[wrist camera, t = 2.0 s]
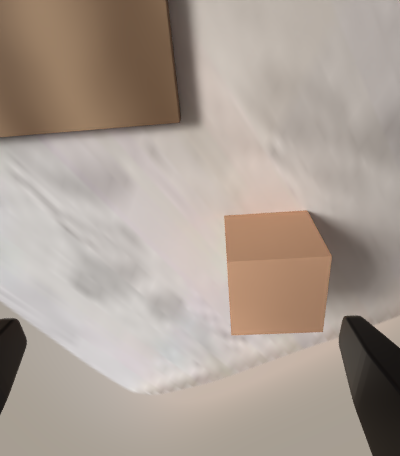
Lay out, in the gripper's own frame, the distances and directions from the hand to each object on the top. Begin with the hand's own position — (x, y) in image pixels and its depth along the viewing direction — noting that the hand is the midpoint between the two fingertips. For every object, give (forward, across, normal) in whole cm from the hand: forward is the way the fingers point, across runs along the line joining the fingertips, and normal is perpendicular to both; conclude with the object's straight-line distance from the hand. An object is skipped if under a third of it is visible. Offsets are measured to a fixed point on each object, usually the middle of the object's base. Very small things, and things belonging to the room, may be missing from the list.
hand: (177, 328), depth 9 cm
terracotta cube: (+12, -4, +5) cm, 14 cm away
